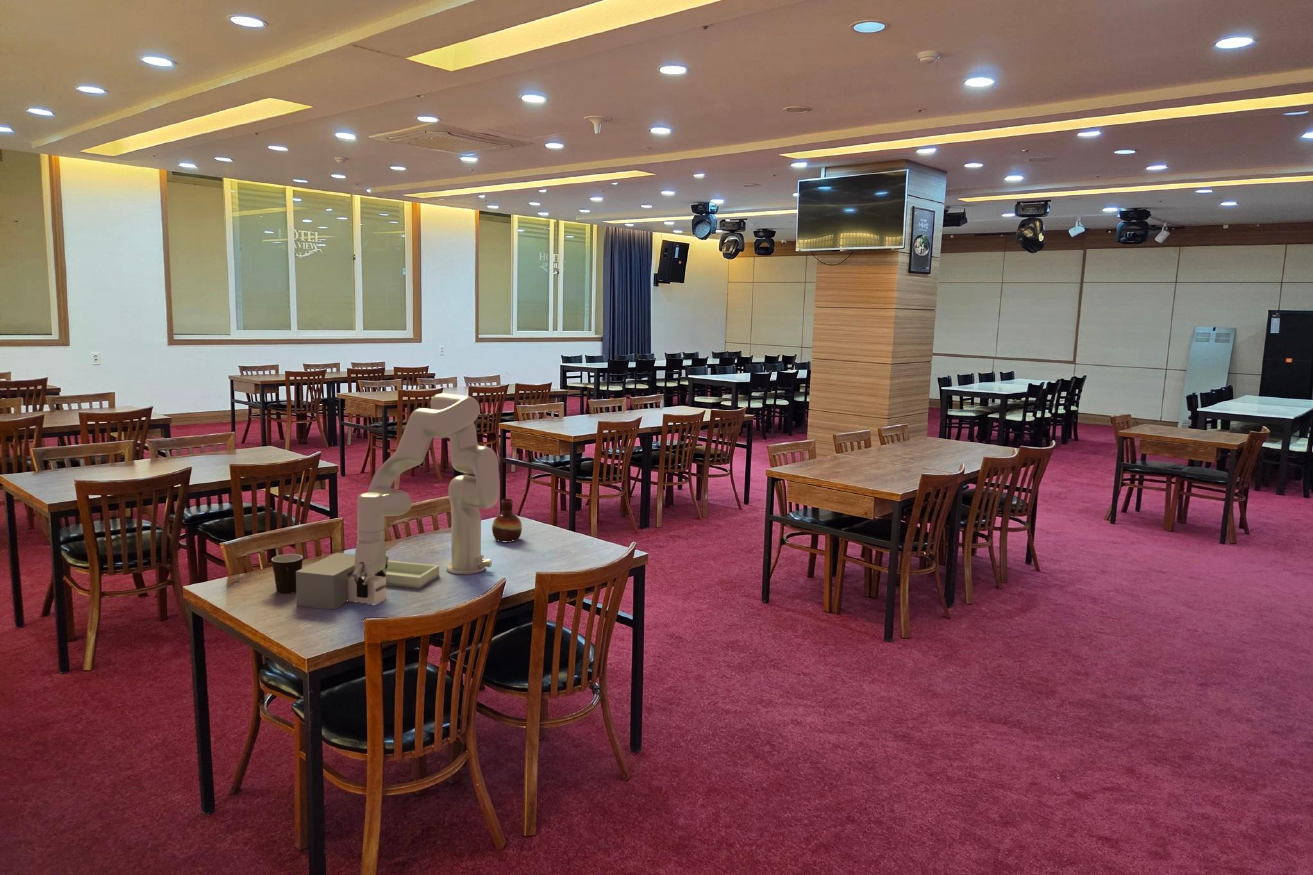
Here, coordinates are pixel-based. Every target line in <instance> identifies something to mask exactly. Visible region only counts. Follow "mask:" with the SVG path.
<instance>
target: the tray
mask: <svg viewBox="0 0 1313 875" xmlns="http://www.w3.org/2000/svg"><path fill="white" fill-rule="evenodd" d="M387 565H388V566H387V568H386V571H387V572H386V574H385V575H386V585H387V586H392V587H400V588H408V589H409V588H410V589H417V590H418V589H419V590H420V589H422V588H423V587H424V586H426V585H428V584H429V583H431V582H432V581H434V580H435V579H438V578H439V577H440V565H437V564H427V563H417V562H407V561H399V560H398V561H397V560H396V561H395V560H389V559H388V563H387ZM376 574H377V573H376ZM374 575H375V574H374Z"/></svg>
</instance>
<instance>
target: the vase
mask: <svg viewBox="0 0 1313 875" xmlns="http://www.w3.org/2000/svg"><path fill="white" fill-rule="evenodd" d="M513 502H514V501H513V499H512V498H503V499H502V500H501V510H502V511H501V513H499V514H498V515H497V516H496V517H495V518H494V520H493V523H492V525H491V531H492V536H493V537H494V539H495V540H496V541H497V540H499V541H512V540H517V539H518V538H520V537H521V534H522V529H523V525H522V522H521V519H520V518H519V517H518V515H516V514H515V513H513ZM518 540H519V539H518ZM518 540H517V541H518ZM499 541H498V542H499Z"/></svg>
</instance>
